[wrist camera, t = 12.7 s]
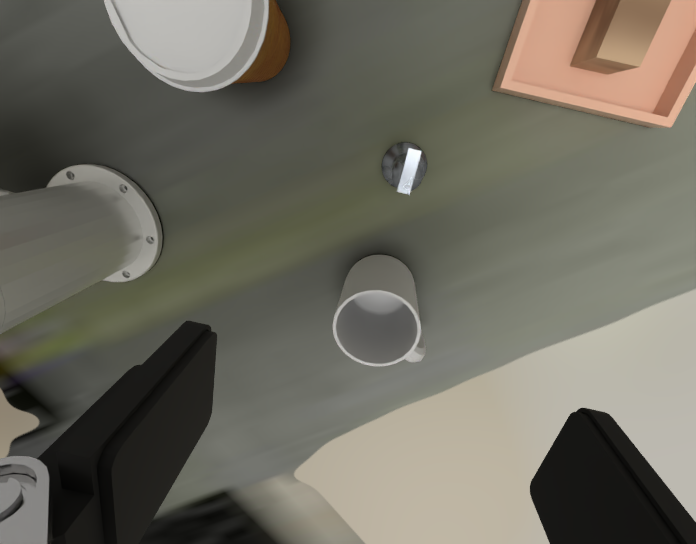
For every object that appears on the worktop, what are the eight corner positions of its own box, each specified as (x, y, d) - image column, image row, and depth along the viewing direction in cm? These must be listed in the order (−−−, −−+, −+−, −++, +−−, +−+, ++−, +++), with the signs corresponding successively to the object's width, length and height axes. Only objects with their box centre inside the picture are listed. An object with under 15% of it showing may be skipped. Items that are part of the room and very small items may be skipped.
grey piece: (377, 182, 34) (372, 198, 26) (388, 137, 32) (386, 141, 24) (418, 192, 34) (426, 212, 26) (432, 148, 32) (444, 155, 24)
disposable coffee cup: (202, -41, 29) (82, -144, 18) (317, -17, 28) (270, -108, 17) (198, 90, 32) (98, 72, 21) (300, 112, 32) (252, 105, 21)
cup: (382, 238, 36) (379, 272, 27) (446, 306, 38) (461, 357, 29) (331, 282, 38) (314, 325, 30) (393, 343, 40) (394, 400, 32)
